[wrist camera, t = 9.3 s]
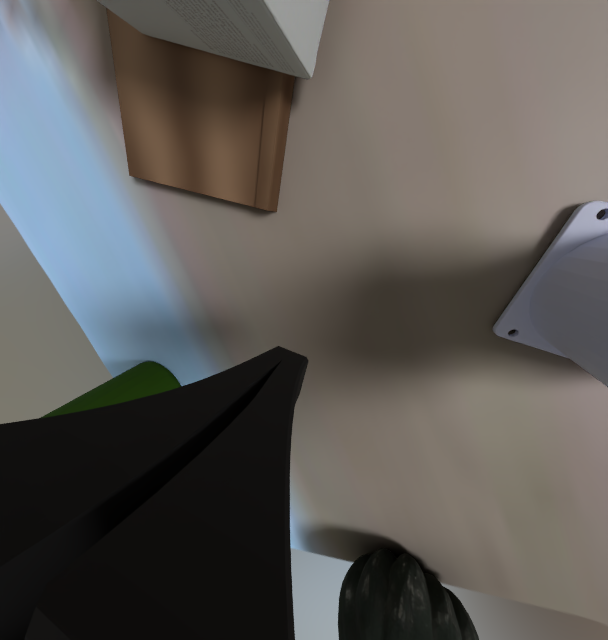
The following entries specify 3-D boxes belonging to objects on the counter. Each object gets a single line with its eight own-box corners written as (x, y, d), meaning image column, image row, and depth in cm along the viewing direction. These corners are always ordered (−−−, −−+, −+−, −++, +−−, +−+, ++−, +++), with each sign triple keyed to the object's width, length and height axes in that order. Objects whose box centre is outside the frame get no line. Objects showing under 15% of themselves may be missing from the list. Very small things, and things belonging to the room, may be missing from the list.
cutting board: (357, -393, 8) (350, -513, 7) (276, 211, 17) (267, 210, 16) (90, -279, 11) (50, -346, 10) (142, 178, 20) (125, 174, 19)
